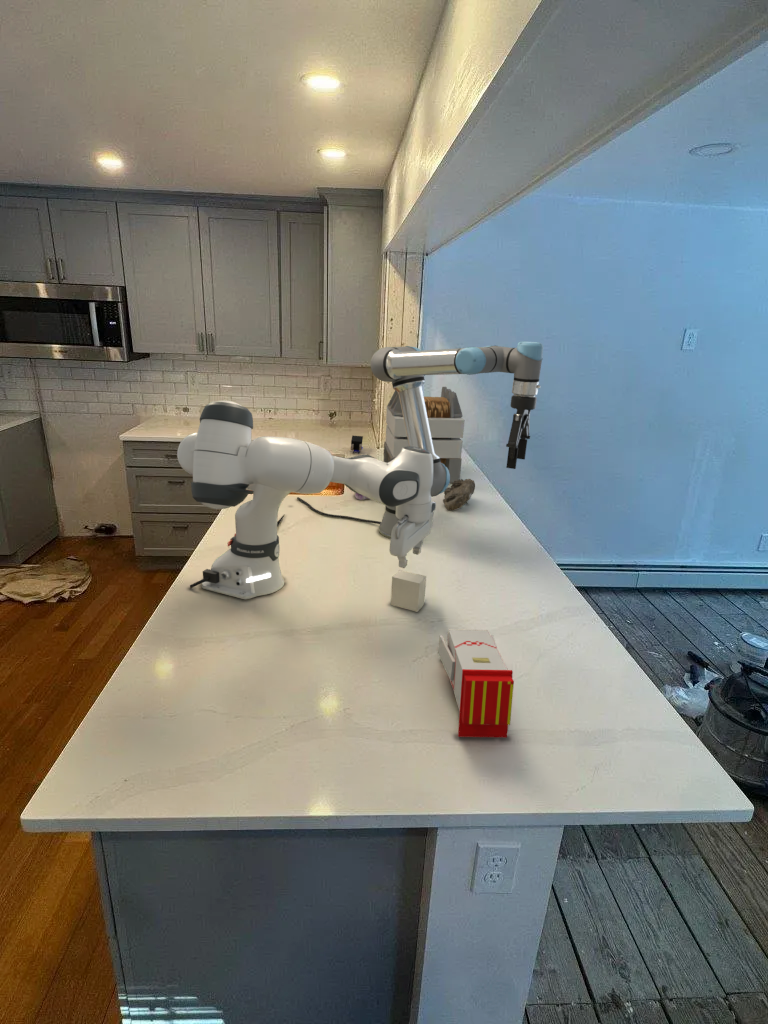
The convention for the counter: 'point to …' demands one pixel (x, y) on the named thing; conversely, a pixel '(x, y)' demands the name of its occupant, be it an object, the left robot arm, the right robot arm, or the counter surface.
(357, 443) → the figurine character
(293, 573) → the counter surface
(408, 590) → the block
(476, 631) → the toy
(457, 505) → the fossil
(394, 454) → the slatted wooden crate
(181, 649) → the counter surface
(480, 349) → the right robot arm
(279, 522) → the feather
